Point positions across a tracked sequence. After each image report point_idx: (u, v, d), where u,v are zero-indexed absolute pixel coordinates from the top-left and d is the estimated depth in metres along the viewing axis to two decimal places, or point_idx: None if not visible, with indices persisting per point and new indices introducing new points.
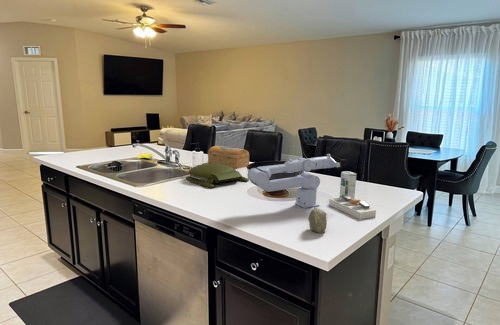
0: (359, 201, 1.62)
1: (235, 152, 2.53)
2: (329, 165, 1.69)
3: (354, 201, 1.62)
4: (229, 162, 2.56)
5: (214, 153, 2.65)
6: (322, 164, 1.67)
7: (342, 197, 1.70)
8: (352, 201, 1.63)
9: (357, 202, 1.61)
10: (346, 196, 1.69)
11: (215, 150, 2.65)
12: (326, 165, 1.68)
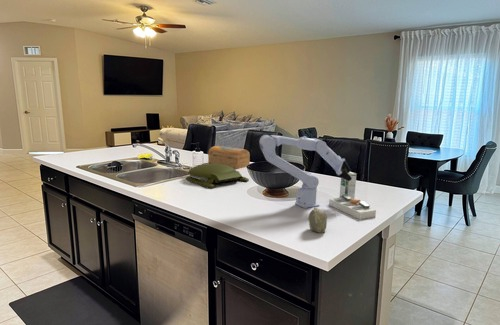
0: (359, 201, 1.62)
1: (236, 152, 2.53)
2: (334, 166, 1.67)
3: (354, 201, 1.62)
4: (230, 162, 2.56)
5: (214, 153, 2.64)
6: (332, 158, 1.65)
7: (342, 197, 1.70)
8: (352, 201, 1.63)
9: (357, 202, 1.61)
10: (346, 196, 1.69)
11: (215, 150, 2.65)
12: (332, 164, 1.67)
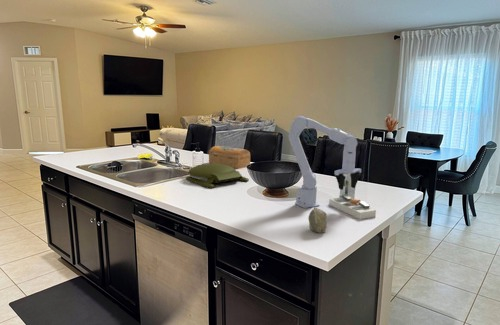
0: (359, 201, 1.62)
1: (236, 152, 2.52)
2: (342, 168, 1.65)
3: (354, 201, 1.62)
4: (230, 162, 2.55)
5: (215, 153, 2.64)
6: (349, 160, 1.61)
7: (342, 197, 1.70)
8: (352, 201, 1.63)
9: (357, 202, 1.61)
10: (346, 196, 1.69)
11: (216, 150, 2.64)
12: None
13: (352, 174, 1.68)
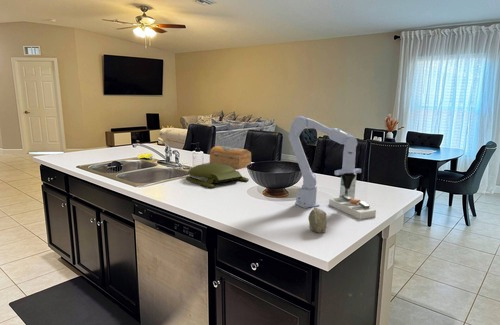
0: (359, 201, 1.62)
1: (237, 152, 2.52)
2: (342, 168, 1.65)
3: (354, 201, 1.62)
4: (231, 162, 2.55)
5: (216, 153, 2.64)
6: (349, 160, 1.61)
7: (342, 197, 1.70)
8: (352, 201, 1.63)
9: (357, 202, 1.61)
10: (346, 196, 1.69)
11: (217, 150, 2.64)
12: (343, 164, 1.64)
13: None
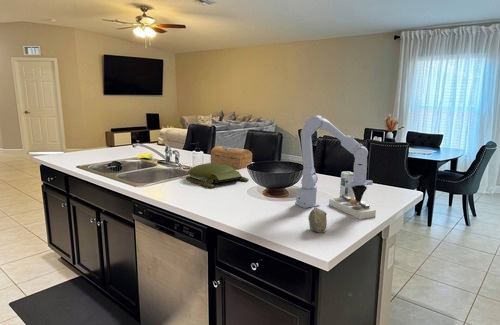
0: None
1: (238, 152, 2.51)
2: (353, 180, 1.60)
3: (354, 201, 1.62)
4: (232, 162, 2.54)
5: (217, 153, 2.63)
6: (358, 172, 1.57)
7: (342, 197, 1.70)
8: (352, 201, 1.63)
9: (357, 202, 1.61)
10: (346, 196, 1.69)
11: (218, 150, 2.63)
12: (353, 176, 1.59)
13: None
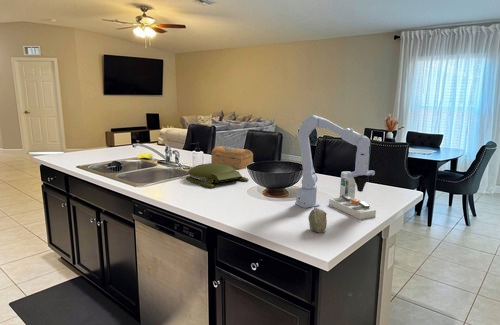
0: None
1: (239, 153, 2.51)
2: (355, 170, 1.60)
3: (354, 201, 1.62)
4: (233, 162, 2.54)
5: (217, 154, 2.63)
6: (361, 162, 1.56)
7: (342, 197, 1.70)
8: (352, 201, 1.63)
9: (357, 203, 1.61)
10: (346, 196, 1.69)
11: (218, 150, 2.63)
12: (355, 166, 1.59)
13: None
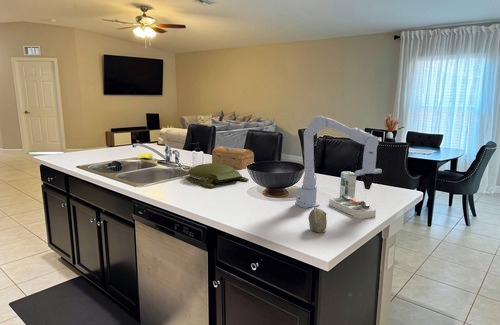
0: None
1: (240, 153, 2.51)
2: (362, 168, 1.62)
3: (354, 202, 1.62)
4: (234, 162, 2.54)
5: (218, 154, 2.62)
6: (369, 160, 1.59)
7: (342, 197, 1.70)
8: (352, 201, 1.63)
9: (357, 203, 1.61)
10: (346, 196, 1.69)
11: (219, 151, 2.62)
12: (363, 164, 1.61)
13: None
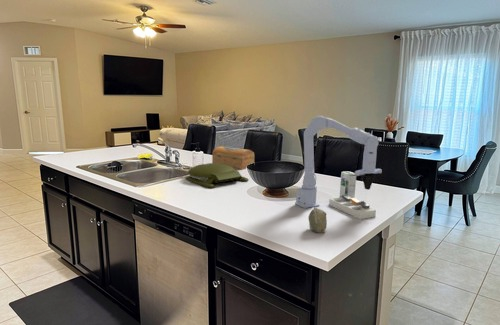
0: None
1: (240, 153, 2.51)
2: (362, 168, 1.62)
3: (354, 202, 1.62)
4: (234, 163, 2.53)
5: (219, 154, 2.62)
6: (369, 160, 1.59)
7: (342, 197, 1.70)
8: (352, 201, 1.63)
9: (357, 204, 1.62)
10: (346, 196, 1.69)
11: (220, 151, 2.62)
12: (363, 164, 1.61)
13: None
